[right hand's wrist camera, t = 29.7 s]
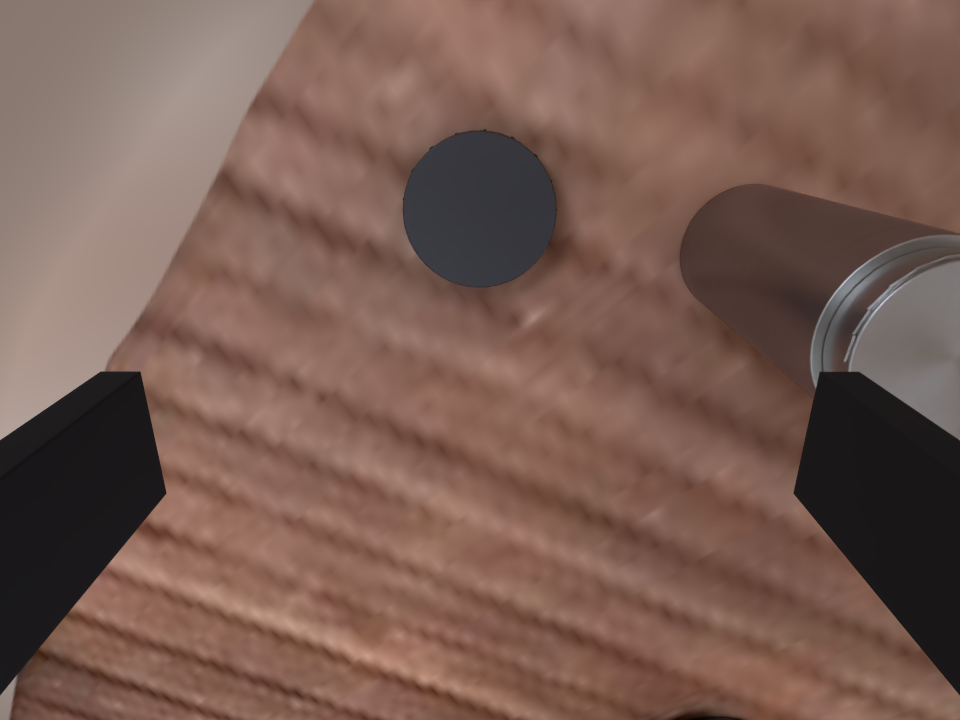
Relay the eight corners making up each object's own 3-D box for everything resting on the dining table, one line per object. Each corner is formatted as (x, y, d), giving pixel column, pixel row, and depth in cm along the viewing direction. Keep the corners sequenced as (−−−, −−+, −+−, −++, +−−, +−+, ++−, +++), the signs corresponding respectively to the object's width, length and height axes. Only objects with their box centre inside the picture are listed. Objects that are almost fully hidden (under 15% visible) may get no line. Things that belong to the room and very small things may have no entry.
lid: (397, 268, 42) (393, 275, 40) (415, 116, 38) (411, 117, 36) (536, 290, 42) (539, 298, 40) (566, 143, 39) (571, 144, 37)
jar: (827, 191, 40) (1117, 256, 22) (790, 318, 43) (1017, 468, 25) (695, 177, 40) (878, 232, 22) (667, 306, 43) (806, 450, 25)
